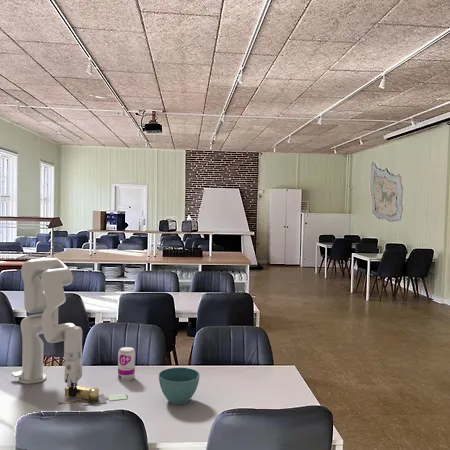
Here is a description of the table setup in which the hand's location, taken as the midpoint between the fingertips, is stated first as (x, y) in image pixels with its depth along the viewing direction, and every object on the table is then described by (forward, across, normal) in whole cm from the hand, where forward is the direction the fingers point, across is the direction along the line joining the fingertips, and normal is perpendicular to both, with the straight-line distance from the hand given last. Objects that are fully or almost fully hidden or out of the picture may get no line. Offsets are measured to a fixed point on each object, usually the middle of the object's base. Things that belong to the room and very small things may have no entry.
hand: (72, 396), depth 218 cm
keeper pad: (+2, +6, -18) cm, 20 cm away
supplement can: (+2, +30, -16) cm, 34 cm away
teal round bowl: (+3, +6, -46) cm, 47 cm away
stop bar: (+1, +3, -3) cm, 5 cm away
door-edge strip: (+2, +2, -9) cm, 9 cm away
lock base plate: (+2, +2, -9) cm, 9 cm away
